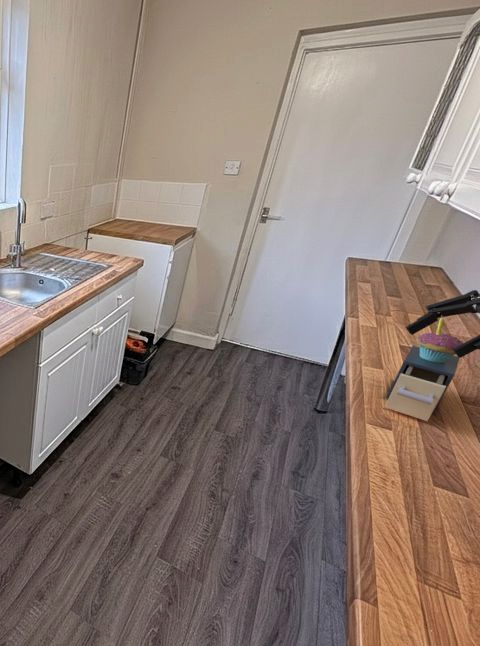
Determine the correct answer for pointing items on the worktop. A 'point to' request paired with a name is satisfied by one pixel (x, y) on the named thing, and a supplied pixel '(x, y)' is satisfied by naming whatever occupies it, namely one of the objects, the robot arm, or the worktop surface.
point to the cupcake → (437, 345)
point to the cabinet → (428, 368)
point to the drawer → (417, 392)
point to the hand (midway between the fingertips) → (431, 341)
